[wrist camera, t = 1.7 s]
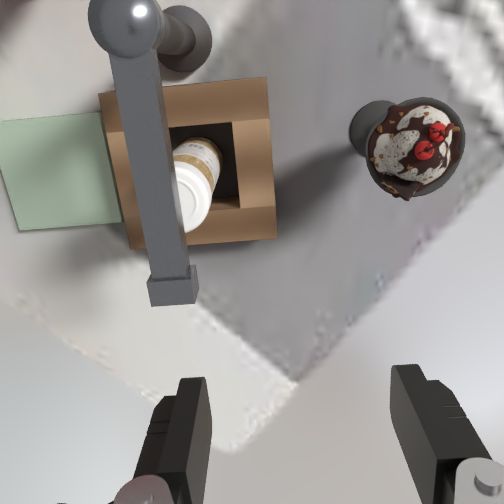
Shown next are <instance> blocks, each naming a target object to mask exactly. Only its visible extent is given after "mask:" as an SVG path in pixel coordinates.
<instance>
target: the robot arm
mask: <svg viewBox="0 0 504 504" xmlns="http://www.w3.org/2000/svg"><path fill="white" fill-rule="evenodd" d="M390 413H391V419H392V423H393V426H394V429H395V432H396V434H397V437H398V440H399V443H400V445H401V448H402V451H403V453H404V456H405V459H406V462H407V464H408V467H409V470H410V472H411V475H412V478H413V480H414V483H415V486H416V488H417V491H418V494H419V497H420V499H421V502H422V504H504V466H503V465H501V464H499V463H497V462H495V461H493V460H492V458H491V457H490V455H489V453H488V451H487V450H486V448H485V446H484V445H483V443H482V442H481V439H480V438H479V436H478V435H477V433H476V431H475V429H474V428H473V426H472V424H471V423H470V421H469V419H468V418H467V417H466V414H465V412H464V411H463V409H462V407H460V404H459V402H458V401H457V399H456V397H455V395H454V394H453V392H452V391H451V390H450V389H449V388H447V387H446V386H445V385H444V384H442V383H441V382H440V381H439V380H428V381H427V380H426V378H425V376H424V374H423V372H422V370H421V368H420V367H419V365H418V364H409V365H393V366H392V368H391V387H390ZM211 437H212V416H211V410H210V403H209V397H208V391H207V384H206V379H205V377H194V378H181V380H180V382H179V386H178V390H177V394H176V395H175V396H164V397H163V399H162V400H161V401H160V402H159V403H158V405H157V406H156V407H155V408H154V411H153V414H152V418H151V421H150V425H149V427H148V431H147V436H146V437H145V440H144V444H143V447H142V450H141V454H140V457H139V460H138V463H137V467H136V470H135V473H134V477H133V479H132V480H131V481H129V482H128V483H127V484H125V485H124V486H123V487H122V488H121V489H120V491H119V492H118V493H117V495H116V497H115V499H114V501H112V502H110V503H109V504H203V499H204V491H205V483H206V475H207V468H208V460H209V452H210V445H211ZM59 504H63V503H59Z"/></svg>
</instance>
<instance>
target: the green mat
mask: <svg viewBox="0 0 504 504" xmlns="http://www.w3.org/2000/svg"><path fill="white" fill-rule="evenodd" d="M0 168H1V172H2V175H3V178H4V181H5V185H6V188H7V191H8V194H9V198H10V201H11V204H12V207H13V211H14V214H15V217H16V220H17V224H18V227H19V230H31V229H44V228H56V227H69V226H81V225H94V224H106V223H119V222H123V220H124V216H123V211H122V207H121V202H120V197H119V192H118V187H117V183H116V178H115V173H114V168H113V164H112V159H111V154H110V149H109V145H108V140H107V135H106V130H105V125H104V121H103V116H102V112H95V113H84V114H73V115H62V116H52V117H41V118H30V119H19V120H8V121H0Z"/></svg>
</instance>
